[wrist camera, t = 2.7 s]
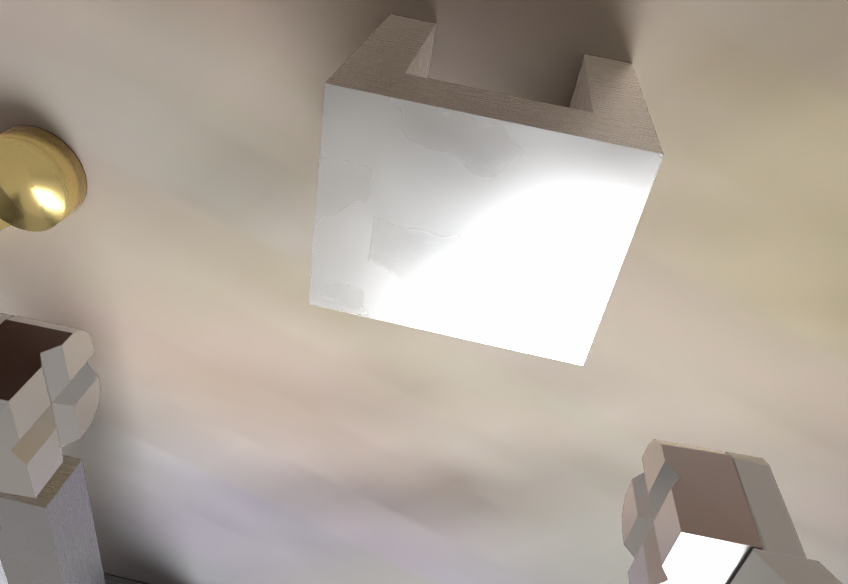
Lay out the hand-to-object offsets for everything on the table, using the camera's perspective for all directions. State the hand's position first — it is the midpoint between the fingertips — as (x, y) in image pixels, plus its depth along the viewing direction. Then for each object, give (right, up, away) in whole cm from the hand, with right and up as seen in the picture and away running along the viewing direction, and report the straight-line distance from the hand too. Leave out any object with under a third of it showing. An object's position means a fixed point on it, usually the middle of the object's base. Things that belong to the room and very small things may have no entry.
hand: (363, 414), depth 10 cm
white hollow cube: (+3, +6, +9) cm, 11 cm away
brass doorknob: (-14, +5, +13) cm, 19 cm away
